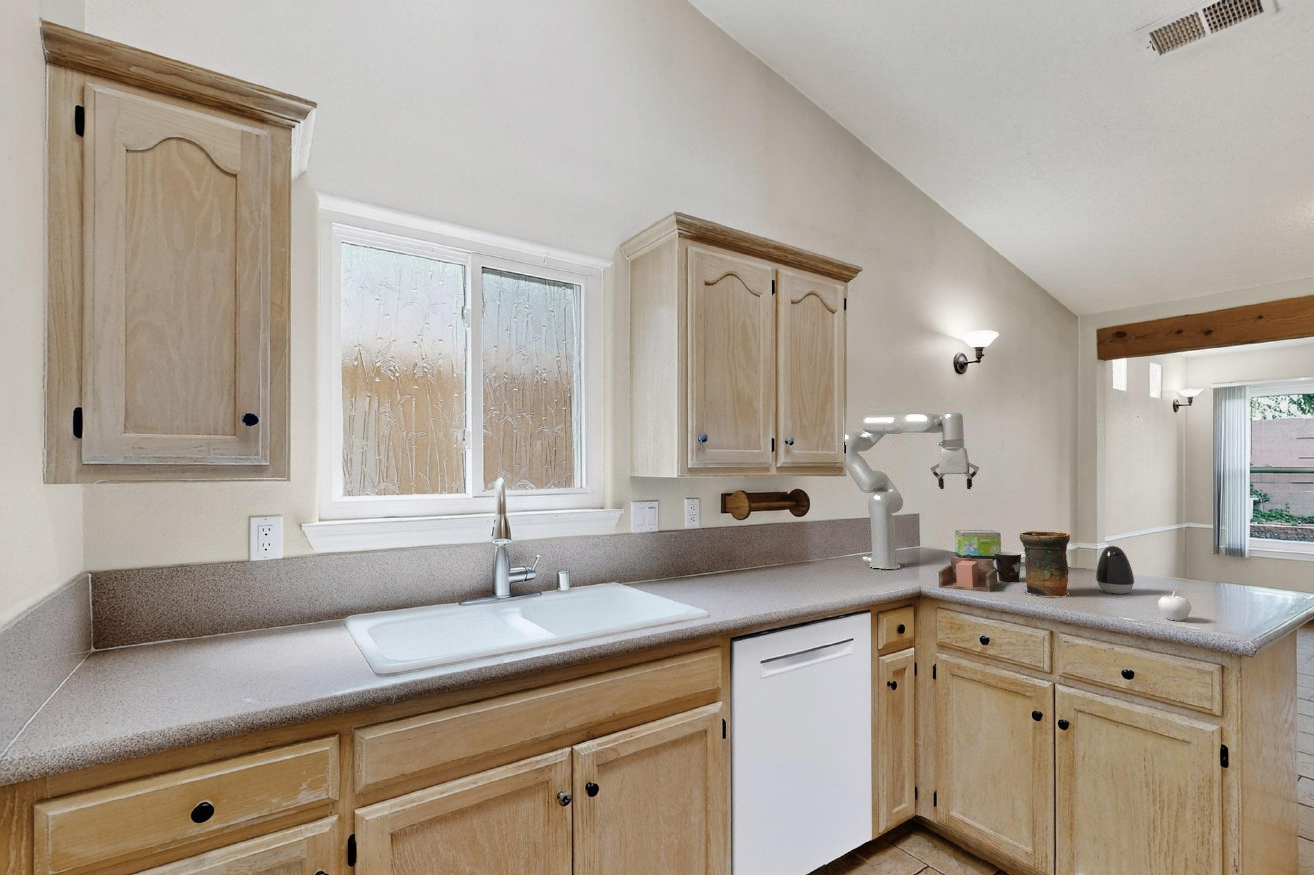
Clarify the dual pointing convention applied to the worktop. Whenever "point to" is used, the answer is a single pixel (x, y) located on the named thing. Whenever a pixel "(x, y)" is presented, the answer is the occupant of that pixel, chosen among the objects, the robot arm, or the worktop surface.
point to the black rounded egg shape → (1114, 571)
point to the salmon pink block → (967, 573)
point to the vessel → (1046, 562)
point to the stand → (985, 575)
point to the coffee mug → (1008, 566)
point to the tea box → (977, 544)
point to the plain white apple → (1174, 607)
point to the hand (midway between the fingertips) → (955, 489)
